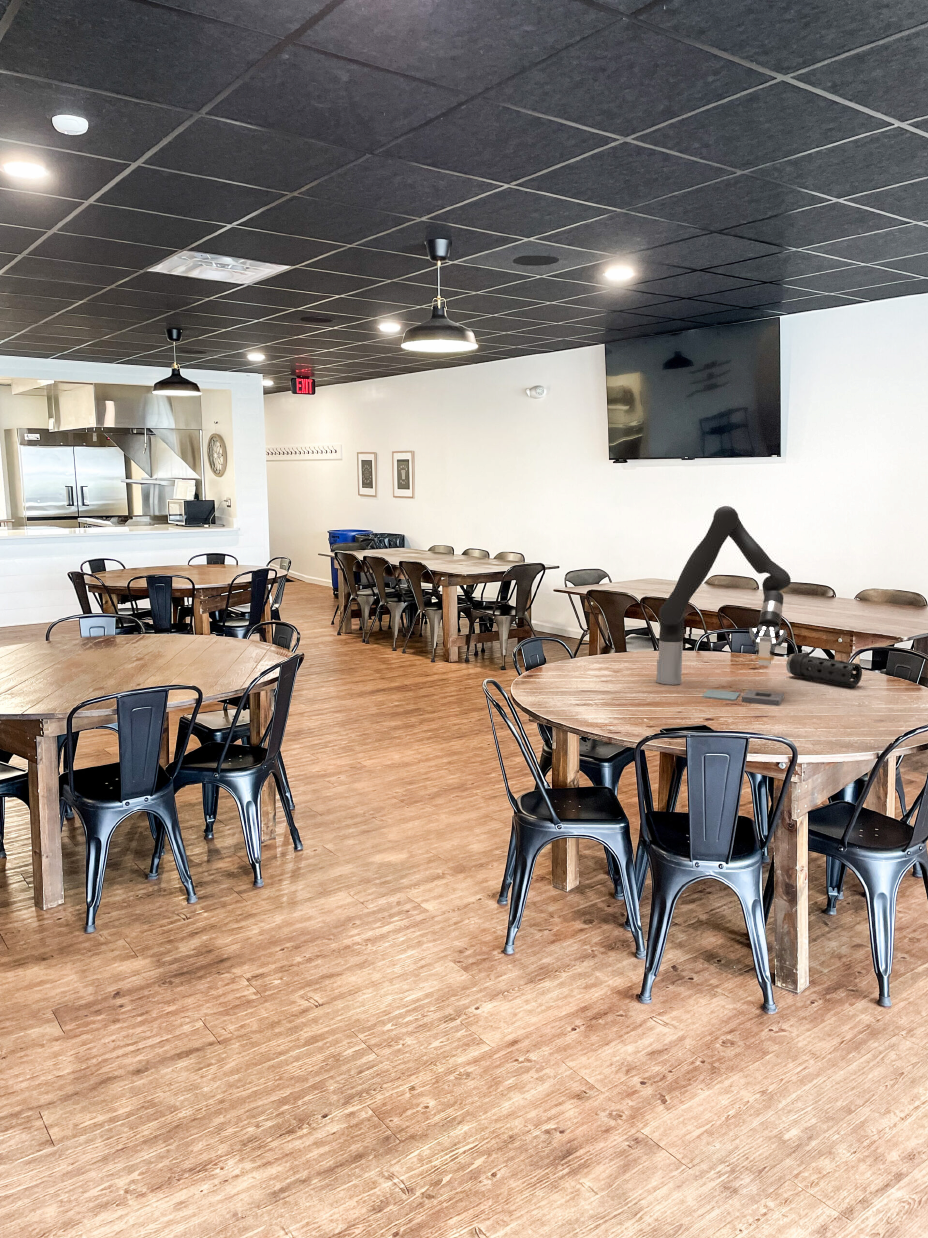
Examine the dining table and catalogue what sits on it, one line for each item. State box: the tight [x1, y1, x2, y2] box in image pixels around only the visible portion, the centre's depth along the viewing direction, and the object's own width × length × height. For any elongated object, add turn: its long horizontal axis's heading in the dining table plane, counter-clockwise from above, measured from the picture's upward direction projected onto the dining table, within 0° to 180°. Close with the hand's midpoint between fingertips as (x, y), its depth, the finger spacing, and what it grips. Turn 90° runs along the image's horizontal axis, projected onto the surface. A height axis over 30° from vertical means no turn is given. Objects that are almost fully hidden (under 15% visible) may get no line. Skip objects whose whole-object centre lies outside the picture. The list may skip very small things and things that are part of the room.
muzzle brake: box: [785, 652, 863, 689], centre depth 350 cm, size 10×28×10 cm, turn 37°
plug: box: [754, 636, 775, 667], centre depth 318 cm, size 6×6×10 cm
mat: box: [701, 688, 741, 702], centre depth 328 cm, size 12×12×1 cm
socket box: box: [741, 689, 785, 707], centre depth 321 cm, size 13×13×2 cm
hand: (764, 652), depth 317 cm, fingers closed on plug, 4 cm apart
